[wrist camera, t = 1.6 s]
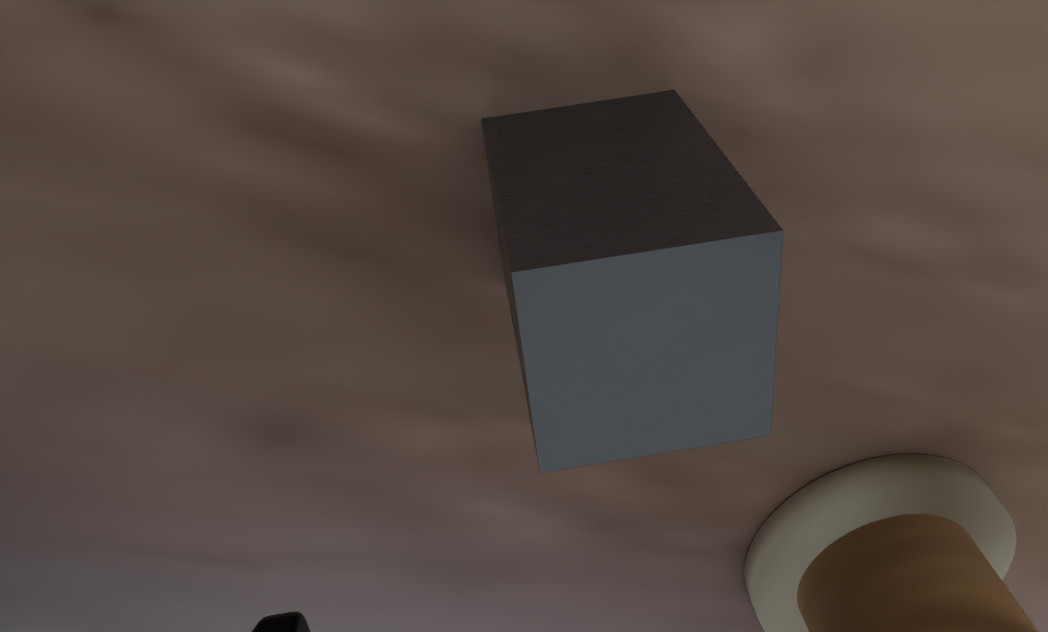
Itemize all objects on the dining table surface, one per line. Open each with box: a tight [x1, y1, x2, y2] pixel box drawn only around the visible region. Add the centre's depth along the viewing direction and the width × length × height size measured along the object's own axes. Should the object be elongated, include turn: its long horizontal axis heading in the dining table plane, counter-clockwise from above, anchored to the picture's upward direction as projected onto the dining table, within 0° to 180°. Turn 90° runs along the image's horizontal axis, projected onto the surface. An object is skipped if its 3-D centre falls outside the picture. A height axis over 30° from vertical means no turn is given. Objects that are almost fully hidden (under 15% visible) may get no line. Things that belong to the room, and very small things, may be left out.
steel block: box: [482, 90, 783, 473], centre depth 15 cm, size 4×4×6 cm
